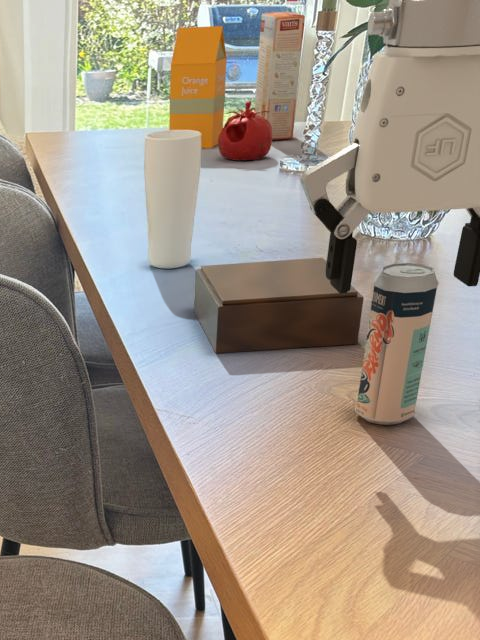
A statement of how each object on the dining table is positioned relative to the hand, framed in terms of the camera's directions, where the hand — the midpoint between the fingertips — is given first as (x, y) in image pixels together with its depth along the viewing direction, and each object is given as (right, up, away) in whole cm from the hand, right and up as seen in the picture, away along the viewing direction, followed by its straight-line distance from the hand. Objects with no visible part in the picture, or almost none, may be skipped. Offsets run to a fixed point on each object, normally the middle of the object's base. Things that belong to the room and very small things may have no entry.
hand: (401, 285), depth 77 cm
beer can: (+1, -9, +7) cm, 11 cm away
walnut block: (-3, +5, +27) cm, 28 cm away
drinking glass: (-10, +20, +50) cm, 54 cm away
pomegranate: (+14, +61, +105) cm, 122 cm away
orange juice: (+8, +71, +120) cm, 140 cm away
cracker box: (+24, +74, +123) cm, 145 cm away
